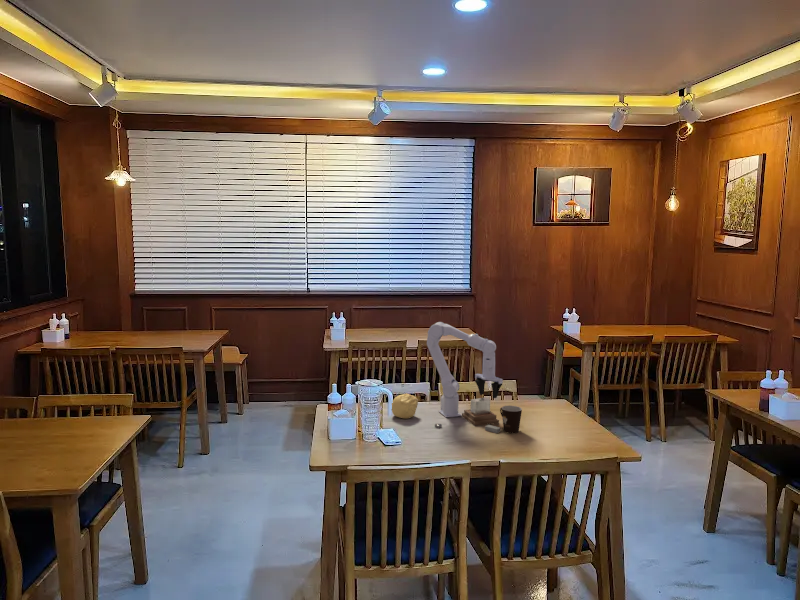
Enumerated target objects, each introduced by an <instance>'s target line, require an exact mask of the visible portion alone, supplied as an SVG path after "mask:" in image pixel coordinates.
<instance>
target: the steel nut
mask: <svg viewBox="0 0 800 600" xmlns="http://www.w3.org/2000/svg"><path fill="white" fill-rule="evenodd" d="M442 425H443V424H441V423H435V424H434V428H435V429H442Z"/></svg>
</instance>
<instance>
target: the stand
mask: <svg viewBox="0 0 800 600" xmlns="http://www.w3.org/2000/svg"><path fill="white" fill-rule="evenodd" d="M461 418H463V419H465V420H466V421H467V422H469V423H470V424H471V425H473V426H474V427H476V426H477V427H478V426H487V425H496V424H498V425H499V424H500V420H499V419H498V418H497V414H495V413H494V412H492V411H491V410H490V412H489V413H484V414H478V415H475V414H473V413H471V408H470V409H464V410H463V412H462V413H461Z"/></svg>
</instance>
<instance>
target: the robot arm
mask: <svg viewBox="0 0 800 600" xmlns="http://www.w3.org/2000/svg"><path fill="white" fill-rule="evenodd" d="M445 336H446V337H447V336H452V337H454V338H456V339H457V338H458V339H460V340H463V341H465V342H466V344H467V345H468V346H469V347H472V348H474V349H476V350H479V351H481V352H482V373H475V374H474V378H475V380H474V383H475V384H476V386H477V388H478V392H479V395H480V396H482V395H484V394H485V387H486V386H485V385H486V381H487V382H491V383H490V384H491V389H492V390H491V391H492V399H497V398H498V395H499V391H500V390H501V387H502V386H503V382H504V381H503V380H504V379H503V378H500V377H497V376H496V350H497V345H496V343H495V341H493V340H491V339H488V338H483V337H481V336H480V335H479V334H478V333H475V334H474V333H471V334H469V333H466V332H464V331H462V330H460V329H458V328H456V327H454V326H452V325H450V324H449V323H444V322H443V321H438V322H435V323H434V324H431V326H429V328H428V331H427V339H426V347H427V349H428V351H429V353H430V356H431V358H432V361H433V363H434V365H435V367H436V370H437V372H438V375H439V376H440V381H441V387H442V395H441V397H440V410H438V412H439V413H440V414H441V415H442V416H444V417H445V418H453V417H462V413H459V399H460V398H459V397H460V395H459V390H460V384H459V382H458V381H457V380H456V379H455V377H454V376H453V374H451V371H450V369H449V366H448V364H447V361H446V359H445V357H444V354H443V352H442V350H441V348H440V345H439V343H440V341H441V338H442V337H445Z"/></svg>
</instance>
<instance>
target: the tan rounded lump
mask: <svg viewBox="0 0 800 600" xmlns="http://www.w3.org/2000/svg"><path fill="white" fill-rule="evenodd" d="M392 402H393V403H392ZM392 402H391V405H392V409H391V411H392V414H393V416H395V417H396V418H400V419H404V420H405V419H410V418H413V417H414V416H415V415H416V411H417V409H418V404H419V399H418V398H417V397H416V396H415V395H413V394H412V395H411V394H409V393H407V392H406V393H404V394H399V395H397V396H395V398H393V400H392Z"/></svg>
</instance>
